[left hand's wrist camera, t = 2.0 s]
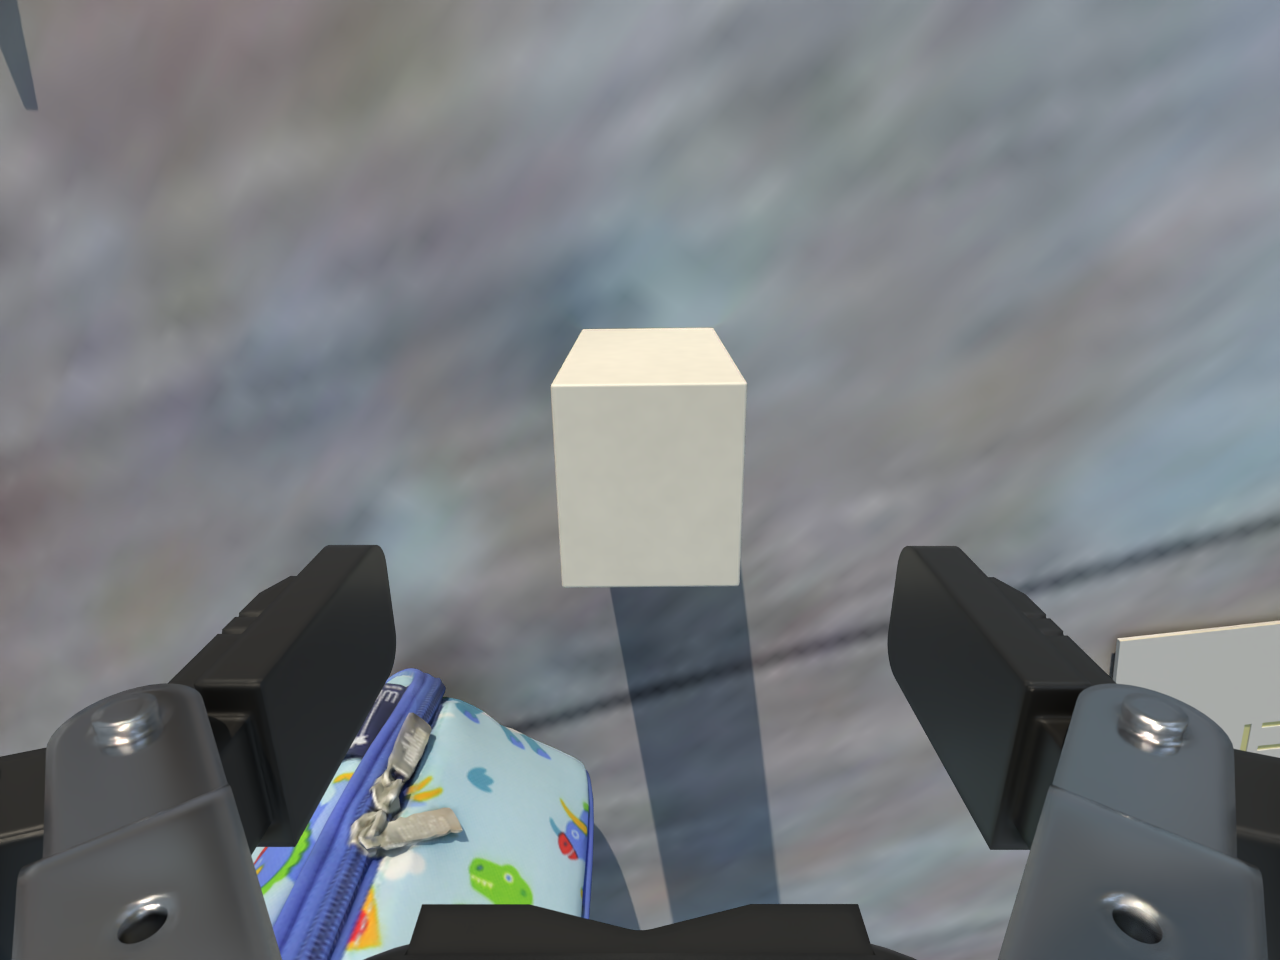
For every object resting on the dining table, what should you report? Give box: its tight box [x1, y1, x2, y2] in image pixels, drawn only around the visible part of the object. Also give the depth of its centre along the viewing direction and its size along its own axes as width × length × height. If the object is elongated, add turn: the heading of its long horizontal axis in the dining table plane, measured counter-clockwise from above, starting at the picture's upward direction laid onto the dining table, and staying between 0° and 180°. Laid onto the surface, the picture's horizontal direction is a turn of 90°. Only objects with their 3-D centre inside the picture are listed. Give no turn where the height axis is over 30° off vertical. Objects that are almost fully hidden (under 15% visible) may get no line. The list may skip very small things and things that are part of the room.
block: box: [551, 328, 747, 587], centre depth 21 cm, size 4×5×9 cm
